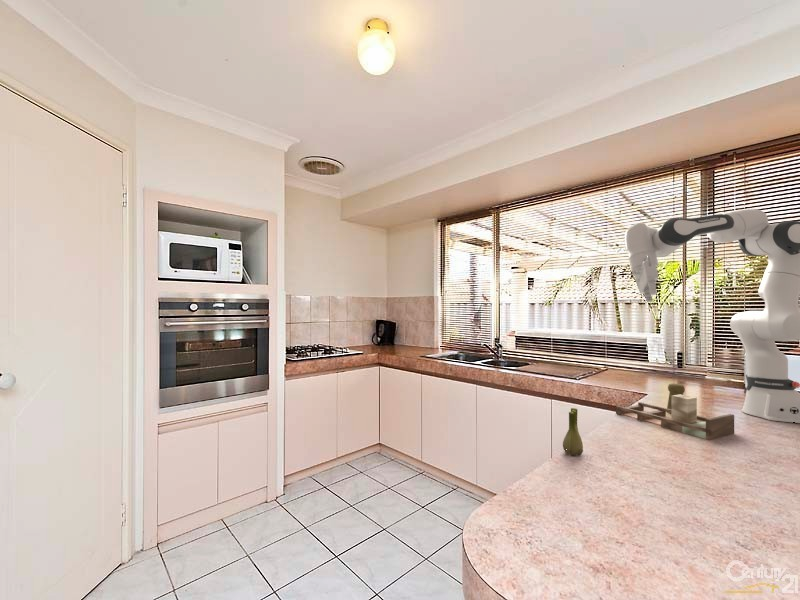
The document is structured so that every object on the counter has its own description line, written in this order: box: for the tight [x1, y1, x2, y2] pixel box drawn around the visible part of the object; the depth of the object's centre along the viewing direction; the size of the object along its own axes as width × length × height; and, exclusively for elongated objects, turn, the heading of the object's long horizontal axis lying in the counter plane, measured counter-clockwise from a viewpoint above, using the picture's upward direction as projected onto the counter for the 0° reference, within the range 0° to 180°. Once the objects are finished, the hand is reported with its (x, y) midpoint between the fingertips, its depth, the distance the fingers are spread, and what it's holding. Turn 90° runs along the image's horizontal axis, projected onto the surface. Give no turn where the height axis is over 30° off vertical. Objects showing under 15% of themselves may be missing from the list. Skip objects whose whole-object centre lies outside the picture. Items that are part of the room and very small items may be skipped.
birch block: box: [670, 394, 698, 424], centre depth 127 cm, size 5×5×8 cm
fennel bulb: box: [562, 407, 584, 456], centre depth 102 cm, size 6×5×12 cm
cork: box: [666, 383, 686, 415], centre depth 144 cm, size 6×6×11 cm
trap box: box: [615, 402, 735, 441], centre depth 131 cm, size 30×14×6 cm, turn 25°
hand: (651, 298), depth 141 cm, fingers open, 8 cm apart
